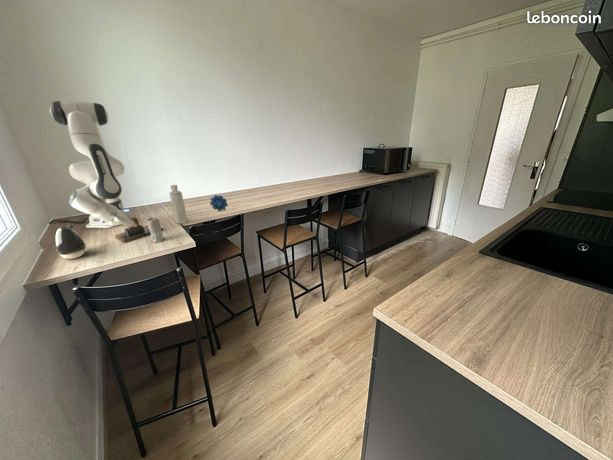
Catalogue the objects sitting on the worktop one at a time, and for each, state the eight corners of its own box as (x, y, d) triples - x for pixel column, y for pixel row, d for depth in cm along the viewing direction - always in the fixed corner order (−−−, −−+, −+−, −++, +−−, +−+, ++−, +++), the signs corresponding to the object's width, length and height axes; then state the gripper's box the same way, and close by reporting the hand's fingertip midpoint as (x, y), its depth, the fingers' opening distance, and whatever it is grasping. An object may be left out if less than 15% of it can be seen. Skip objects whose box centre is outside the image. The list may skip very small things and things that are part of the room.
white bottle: (175, 223, 156) (165, 184, 146) (177, 220, 162) (168, 181, 152) (186, 223, 157) (177, 183, 147) (188, 219, 163) (180, 181, 153)
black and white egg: (94, 250, 125) (82, 222, 119) (77, 261, 115) (64, 231, 109) (73, 251, 125) (61, 222, 119) (55, 262, 115) (40, 231, 109)
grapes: (213, 214, 171) (210, 197, 167) (210, 211, 177) (207, 195, 172) (230, 211, 177) (227, 194, 172) (227, 208, 182) (224, 192, 177)
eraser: (128, 235, 137) (124, 222, 134) (125, 234, 139) (121, 220, 136) (144, 231, 143) (140, 218, 140) (141, 229, 145) (137, 216, 142)
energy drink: (161, 237, 138) (155, 216, 133) (165, 239, 135) (160, 219, 130) (151, 240, 134) (144, 219, 130) (155, 243, 131) (149, 222, 127)
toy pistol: (124, 242, 133) (123, 240, 132) (116, 237, 139) (115, 234, 139) (163, 230, 147) (162, 228, 146) (153, 226, 154) (153, 223, 153)
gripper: (119, 211, 124) (145, 223, 135) (105, 204, 135) (130, 216, 146) (111, 222, 122) (139, 234, 133) (98, 214, 134) (124, 225, 145)
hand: (134, 224), depth 140 cm, fingers closed on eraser, 3 cm apart
